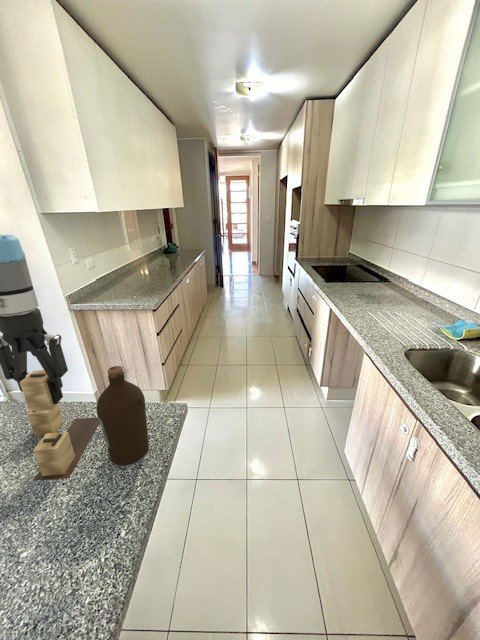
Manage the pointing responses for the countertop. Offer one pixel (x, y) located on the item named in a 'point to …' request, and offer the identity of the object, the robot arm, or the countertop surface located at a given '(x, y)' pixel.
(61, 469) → the letter T
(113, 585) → the countertop surface
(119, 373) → the olive oil
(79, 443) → the word board
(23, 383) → the letter I
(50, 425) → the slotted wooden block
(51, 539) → the countertop surface
